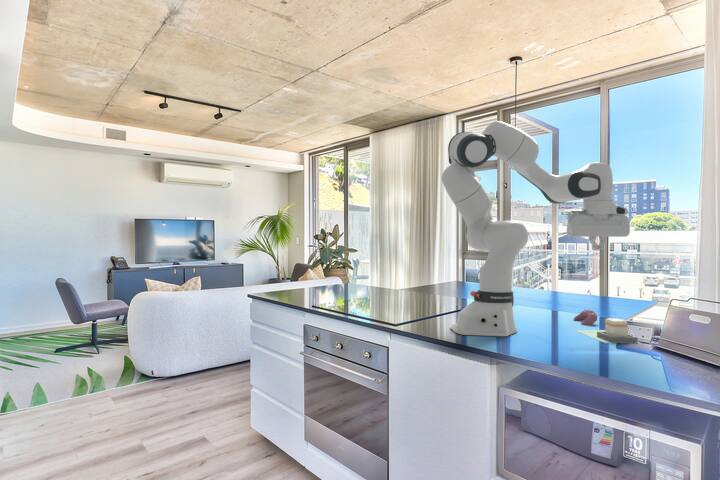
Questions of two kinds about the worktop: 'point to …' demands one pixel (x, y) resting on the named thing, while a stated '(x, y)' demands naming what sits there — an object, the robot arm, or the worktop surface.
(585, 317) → the reddish-brown rounded lump
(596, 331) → the board
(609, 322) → the plug
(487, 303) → the robot arm
